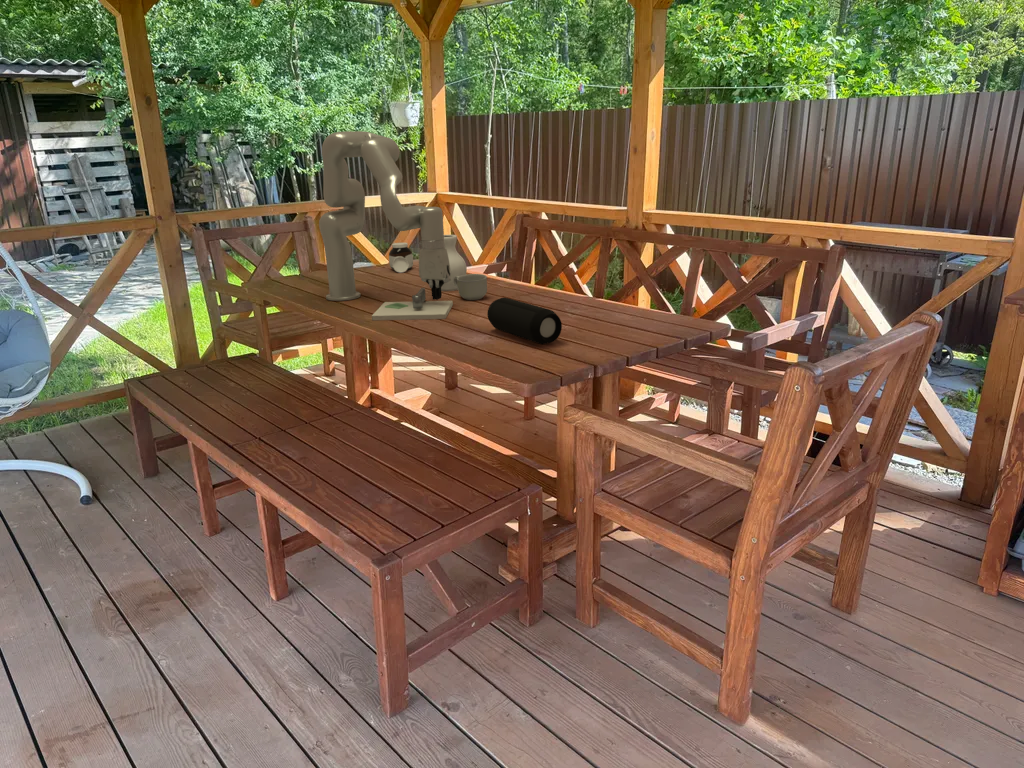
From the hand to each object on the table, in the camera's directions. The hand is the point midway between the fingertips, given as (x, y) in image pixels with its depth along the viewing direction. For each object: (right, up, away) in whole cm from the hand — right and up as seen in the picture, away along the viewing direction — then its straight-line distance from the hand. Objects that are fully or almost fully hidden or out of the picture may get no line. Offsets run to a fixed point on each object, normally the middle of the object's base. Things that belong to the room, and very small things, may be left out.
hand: (437, 298), depth 250 cm
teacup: (+11, +2, +15) cm, 19 cm away
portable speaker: (+29, -16, -37) cm, 50 cm away
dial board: (-7, -5, -4) cm, 10 cm away
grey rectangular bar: (-5, -2, -2) cm, 6 cm away
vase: (+1, +8, +34) cm, 34 cm away
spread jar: (-23, +21, +73) cm, 79 cm away
